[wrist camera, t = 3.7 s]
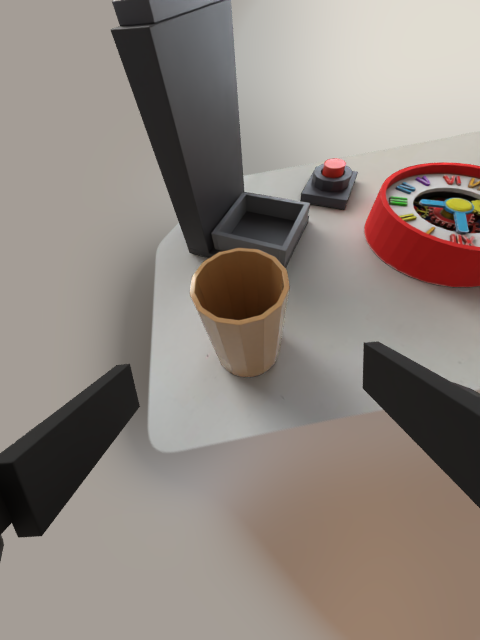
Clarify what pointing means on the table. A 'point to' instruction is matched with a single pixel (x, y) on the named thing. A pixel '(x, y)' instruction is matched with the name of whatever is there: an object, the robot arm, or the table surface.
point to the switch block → (329, 188)
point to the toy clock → (429, 223)
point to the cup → (242, 308)
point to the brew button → (333, 168)
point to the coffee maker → (200, 125)
